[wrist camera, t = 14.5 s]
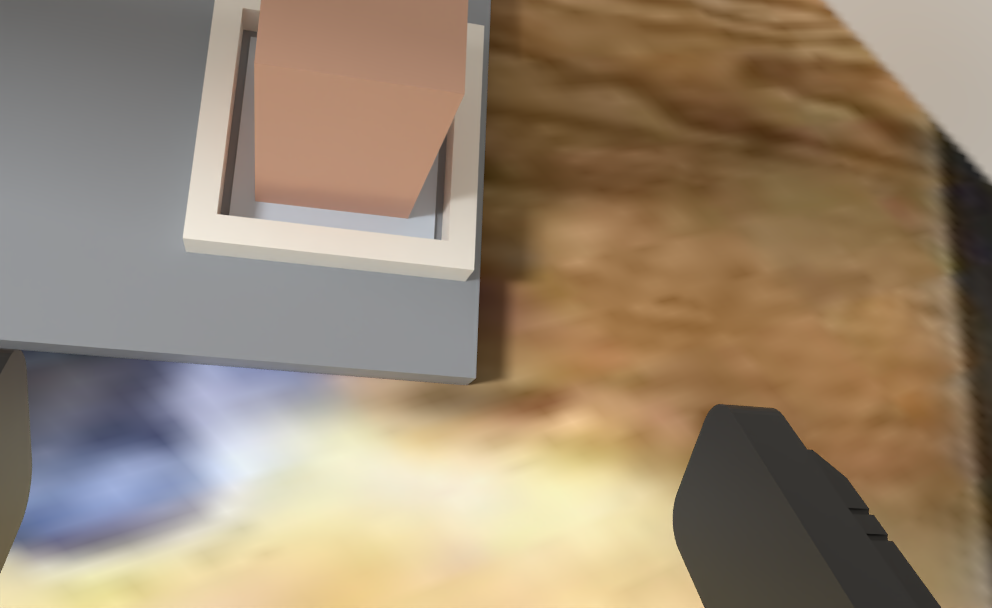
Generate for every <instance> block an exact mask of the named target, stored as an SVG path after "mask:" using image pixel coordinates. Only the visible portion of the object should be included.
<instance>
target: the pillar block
mask: <svg viewBox="0 0 992 608" xmlns="http://www.w3.org/2000/svg"><path fill="white" fill-rule="evenodd" d="M467 21H468V0H261V5H260V14H259V23H258V32H257V41H256V50H255V59H254V121H255V201H257V202H266V203H275V204H284V205H292V206H301V207H310V208H319V209H327V210H336V211H345V212H354V213H363V214H371V215H380V216H389V217H398V218H406V219H408V218H409V215H410V213H411V211H412V209H413V207H414V204H415V202H416V200H417V198H418V196H419V193H420V191H421V189H422V187H423V185H424V182H425V180H426V178H427V176H428V174H429V171H430V169H431V167H432V165H433V163H434V160H435V158H436V156H437V154H438V152H439V149H440V147H441V145H442V143H443V140H444V138H445V136H446V134H447V132H448V129H449V127H450V125H451V123H452V121H453V118H454V116H455V114H456V112H457V110H458V107H459V105H460V103H461V101H462V99H463V96H464V94H465V72H466V47H467Z"/></svg>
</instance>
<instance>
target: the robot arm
mask: <svg viewBox="0 0 992 608" xmlns="http://www.w3.org/2000/svg"><path fill="white" fill-rule="evenodd" d="M31 475H32V454H31V437H30V420H29V404H28V387H27V370H26V362H25V358H24V355H23V353H22V351H21V350H18V349H6V348H0V573H1V570H2V568H3V566H4V563H5V561H6V558H7V556H8V554H9V551H10V549H11V546H12V544H13V542H14V539H15V537H16V534H17V532H18V530H19V527H20V525H21V522H22V520H23V517H24V514H25V510H26V506H27V502H28V497H29V492H30V485H31ZM673 530H674V536H675V540H676V544H677V546H678V549H679V551H680V553H681V556H682V558H683V560H684V562H685V565H686V567H687V569H688V571H689V574H690V576H691V578H692V580H693V583H694V585H695V587H696V589H697V592H698V594H699V596H700V598H701V601H702V603H703V605H704V607H705V608H941V607H940V605H939V604H938V603H937V601H936V600H935V598H934V597H933V596H932V594H931V593H930V592H929V590H928V589H927V587H926V586H925V585H924V583H923V582H922V581H921V579H920V578H919V577H918V575H917V574H916V572H915V571H914V570H913V568H912V567H911V566H910V564H909V563H908V561H907V560H906V559H905V557H904V556H903V555H902V553H901V552H900V551H899V549H898V548H897V546H896V545H895V544H894V542H893V541H888V539H887V536H888V534H887V533H886V531H885V530H884V529H883V527H882V526H881V525H880V523H879V522H878V520H877V519H876V518H875V516H874V515H869V508H868V507H867V505H866V504H865V503H864V501H863V500H862V498H861V497H860V496H859V494H858V493H857V492H856V490H855V489H854V488H853V486H852V485H851V483H850V482H849V481H848V479H847V478H846V477H845V476H844V475H842V474H841V473H840V472H839V471H837V470H836V469H835V468H834V467H833V466H831V465H830V464H829V463H828V462H826V461H825V460H824V459H823V458H822V457H820V456H819V455H818V454H817V453H815V452H814V451H813V450H807V449H806V447H805V446H804V445H803V443H802V442H801V440H800V439H799V437H798V436H797V435H796V433H795V432H794V430H793V429H792V427H791V426H790V425H789V423H788V422H787V420H786V419H785V418H784V416H783V415H782V414H781V413H780V412H779V411H778V410H776V409H774V408H764V407H750V406H737V405H724V404H718V405H716V406H714V407H713V408H712V409H711V410H710V411H709V413H708V414H707V416H706V418H705V421H704V423H703V426H702V429H701V431H700V434H699V436H698V439H697V442H696V444H695V447H694V450H693V452H692V455H691V458H690V460H689V463H688V465H687V468H686V471H685V473H684V476H683V479H682V481H681V484H680V487H679V489H678V492H677V495H676V498H675V502H674V509H673Z"/></svg>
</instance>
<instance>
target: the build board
mask: <svg viewBox="0 0 992 608" xmlns="http://www.w3.org/2000/svg"><path fill="white" fill-rule="evenodd" d="M260 5H261V0H0V348H6V349H18V350H29V351H42V352H54V353H67V354H80V355H92V356H105V357H118V358H130V359H143V360H155V361H168V362H181V363H193V364H206V365H219V366H231V367H244V368H256V369H269V370H282V371H294V372H307V373H319V374H332V375H345V376H357V377H370V378H383V379H395V380H408V381H420V382H433V383H446V384H458V385H468V384H469V383H471V382H472V381H473V380H474V379H476V363H477V338H478V313H479V288H480V263H481V237H482V212H483V187H484V162H485V137H486V112H487V87H488V61H489V36H490V11H491V0H468V21H467V47H466V72H465V94H464V96H463V99H462V101H461V103H460V105H459V107H458V110H457V112H456V114H455V116H454V118H453V121H452V123H451V125H450V127H449V129H448V132H447V134H446V136H445V138H444V140H443V143H442V145H441V147H440V149H439V152H438V154H437V156H436V158H435V160H434V163H433V165H432V167H431V169H430V171H429V174H428V176H427V178H426V180H425V182H424V185H423V187H422V189H421V191H420V193H419V196H418V198H417V200H416V202H415V204H414V207H413V209H412V211H411V213H410V215H409V218H408V219H406V218H398V217H389V216H380V215H371V214H363V213H354V212H345V211H336V210H327V209H319V208H310V207H301V206H292V205H284V204H275V203H266V202H257V201H255V121H254V59H255V50H256V41H257V32H258V23H259V14H260Z"/></svg>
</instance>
